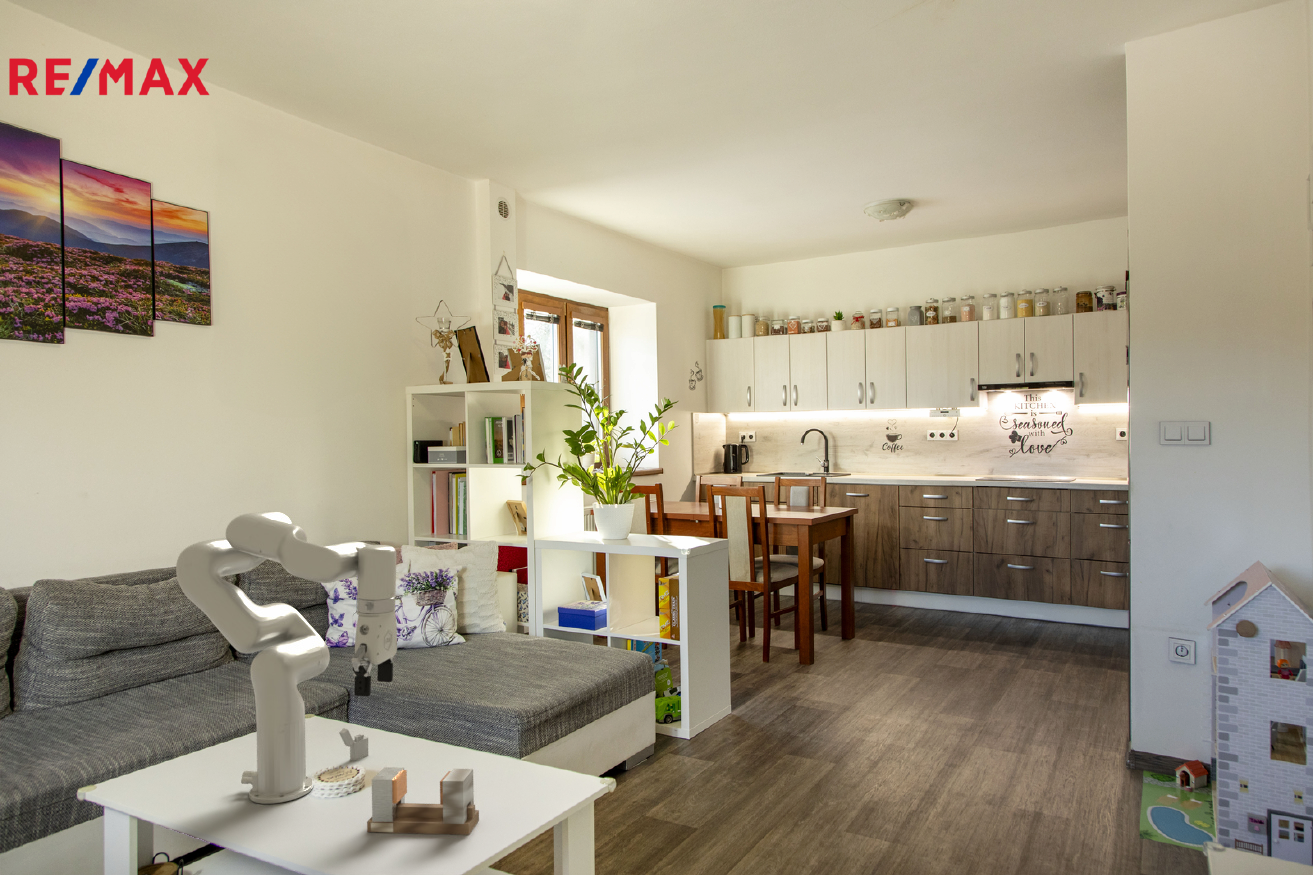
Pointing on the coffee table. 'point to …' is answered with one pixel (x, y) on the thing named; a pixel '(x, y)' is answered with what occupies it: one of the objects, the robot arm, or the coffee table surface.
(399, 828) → the rail
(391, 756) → the coffee table surface
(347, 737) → the lighter
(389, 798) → the white and wooden block
